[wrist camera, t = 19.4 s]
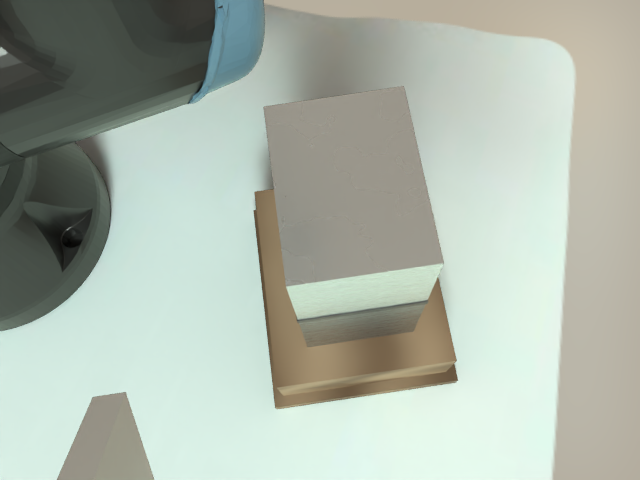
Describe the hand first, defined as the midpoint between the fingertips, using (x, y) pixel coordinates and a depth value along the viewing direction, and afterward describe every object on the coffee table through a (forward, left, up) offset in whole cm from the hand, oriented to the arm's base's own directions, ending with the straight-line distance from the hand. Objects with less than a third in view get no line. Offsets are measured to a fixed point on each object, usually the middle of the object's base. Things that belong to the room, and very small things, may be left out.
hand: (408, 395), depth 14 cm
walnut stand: (-9, +3, -24) cm, 26 cm away
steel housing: (-9, +3, -19) cm, 21 cm away
